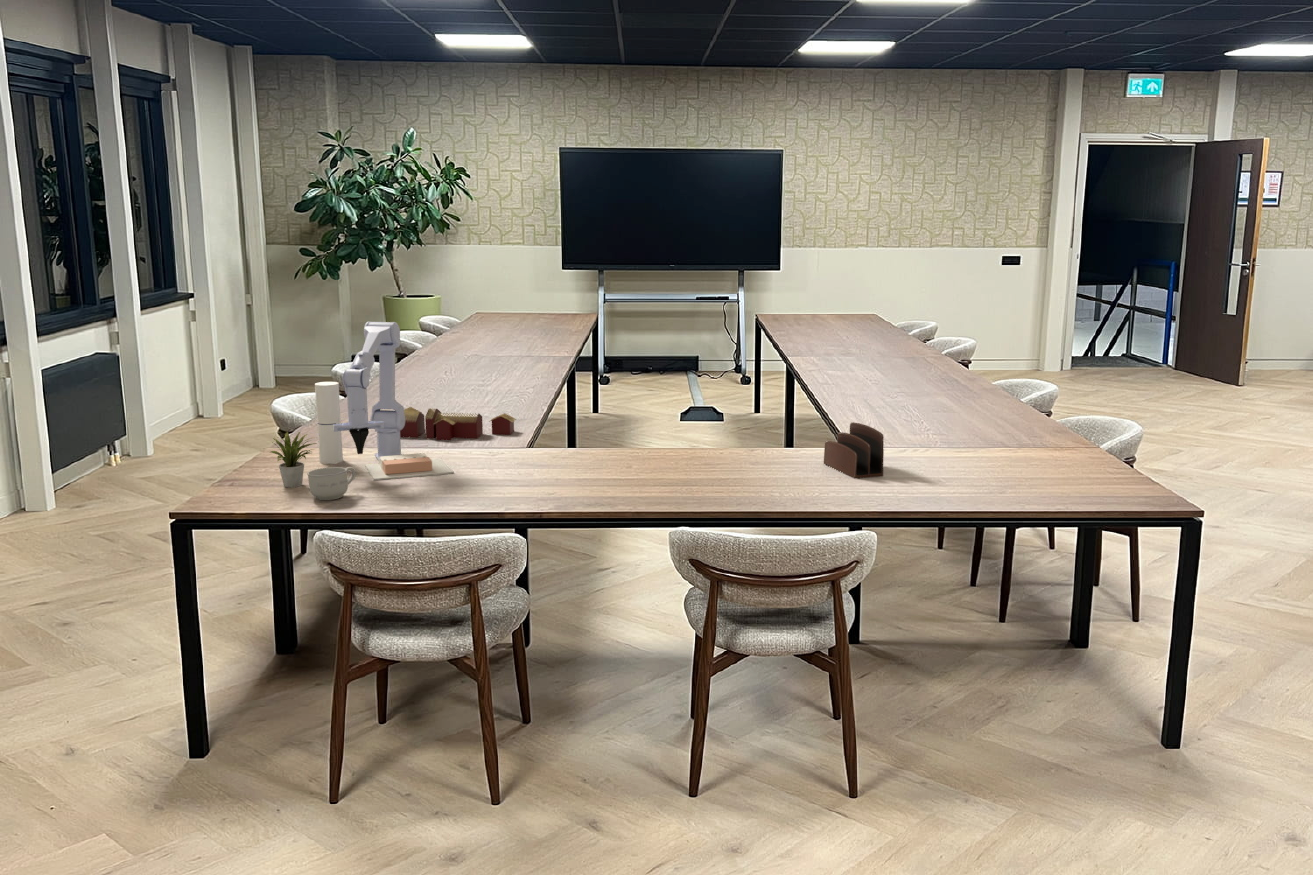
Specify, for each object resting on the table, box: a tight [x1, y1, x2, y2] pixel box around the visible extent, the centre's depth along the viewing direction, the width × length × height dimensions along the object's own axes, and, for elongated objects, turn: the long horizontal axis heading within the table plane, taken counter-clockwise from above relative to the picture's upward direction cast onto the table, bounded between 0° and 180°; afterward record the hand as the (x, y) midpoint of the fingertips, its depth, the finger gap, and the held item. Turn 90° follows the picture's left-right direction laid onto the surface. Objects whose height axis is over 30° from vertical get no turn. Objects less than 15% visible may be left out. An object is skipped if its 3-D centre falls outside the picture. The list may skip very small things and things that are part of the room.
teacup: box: [307, 466, 357, 501], centre depth 317 cm, size 14×11×8 cm
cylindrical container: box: [314, 381, 344, 465], centre depth 357 cm, size 7×7×25 cm
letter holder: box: [823, 422, 885, 479], centre depth 350 cm, size 10×20×14 cm, turn 20°
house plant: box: [269, 430, 318, 489], centre depth 327 cm, size 14×14×16 cm
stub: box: [382, 456, 432, 474], centre depth 345 cm, size 6×14×3 cm, turn 112°
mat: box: [364, 457, 455, 481], centre depth 349 cm, size 19×24×1 cm
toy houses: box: [400, 406, 517, 441], centre depth 399 cm, size 45×20×10 cm, turn 84°
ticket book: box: [378, 452, 429, 470], centre depth 351 cm, size 6×14×3 cm, turn 112°
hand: (360, 453), depth 339 cm, fingers closed
